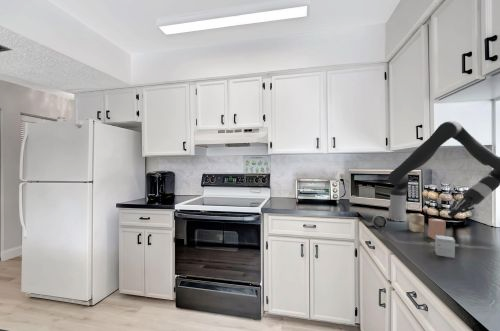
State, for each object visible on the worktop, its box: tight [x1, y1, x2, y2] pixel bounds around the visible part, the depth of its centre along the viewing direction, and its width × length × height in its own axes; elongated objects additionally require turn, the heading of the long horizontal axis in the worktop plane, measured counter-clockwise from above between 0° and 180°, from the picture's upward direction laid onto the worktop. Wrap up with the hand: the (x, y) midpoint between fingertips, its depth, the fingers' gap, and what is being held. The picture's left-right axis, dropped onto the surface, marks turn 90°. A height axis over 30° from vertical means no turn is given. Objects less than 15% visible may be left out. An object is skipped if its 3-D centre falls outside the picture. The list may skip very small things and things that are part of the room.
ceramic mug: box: [366, 214, 388, 229], centre depth 151 cm, size 11×8×8 cm
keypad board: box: [426, 241, 460, 247], centre depth 130 cm, size 26×12×1 cm, turn 170°
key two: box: [427, 218, 447, 240], centre depth 124 cm, size 5×5×9 cm
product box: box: [434, 235, 456, 259], centre depth 106 cm, size 6×6×7 cm
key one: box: [408, 213, 425, 233], centre depth 137 cm, size 5×5×9 cm
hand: (449, 216), depth 129 cm, fingers closed
